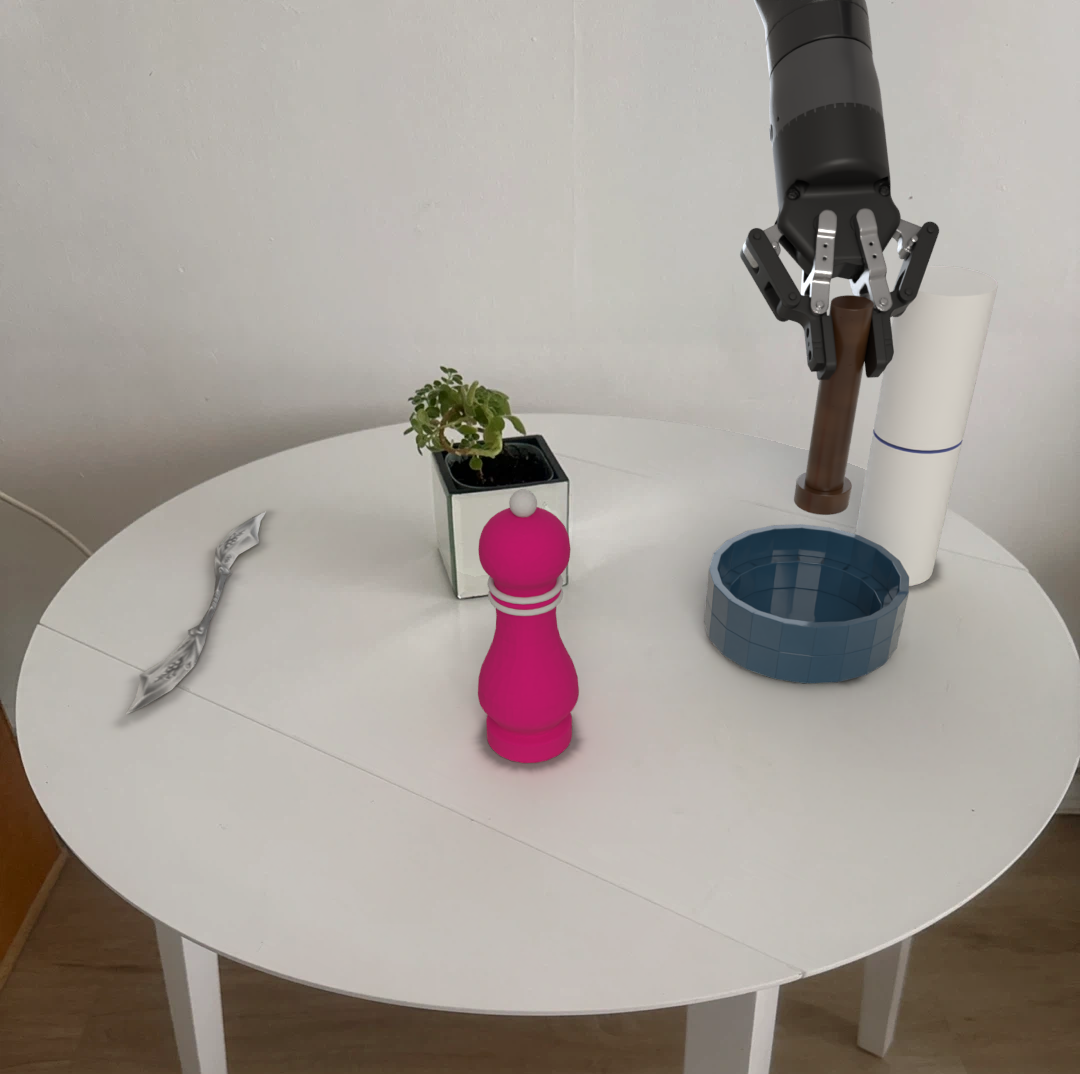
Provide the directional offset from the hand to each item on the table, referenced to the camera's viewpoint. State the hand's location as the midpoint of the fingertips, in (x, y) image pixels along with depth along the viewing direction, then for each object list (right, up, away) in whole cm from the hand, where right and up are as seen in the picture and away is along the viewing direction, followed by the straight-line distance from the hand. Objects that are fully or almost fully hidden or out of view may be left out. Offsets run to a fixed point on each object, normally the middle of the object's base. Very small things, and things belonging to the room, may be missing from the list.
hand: (852, 373), depth 78 cm
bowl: (0, -16, +17) cm, 24 cm away
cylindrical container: (+10, -10, +26) cm, 29 cm away
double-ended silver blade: (-50, -13, +22) cm, 56 cm away
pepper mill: (-22, -25, +8) cm, 34 cm away
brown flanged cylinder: (0, -7, +8) cm, 11 cm away
